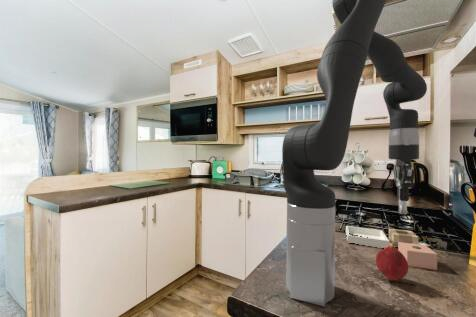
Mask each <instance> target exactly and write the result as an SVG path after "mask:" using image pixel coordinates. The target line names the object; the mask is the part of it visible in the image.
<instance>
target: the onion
mask: <svg viewBox="0 0 476 317" xmlns="http://www.w3.org/2000/svg"><path fill="white" fill-rule="evenodd" d="M375 264H376V267H377V268H378V271H379V272H380V273H381V274H382V276H384V277H385V278H386V279H388V280H389V281H391V282H394V281H397V280H401V279H404V277H406V275H407V274H408V272H409V266H408V263H407V260H406V258H405V257H404V255H403V254H402V253H401V252H400V251H398V248H395V247H394V245H393V244H392V243H390V244H389V246H388V247H387V248H384V249H382V248H381V249H380V250H379V251H378V252H377V254H376V257H375Z"/></svg>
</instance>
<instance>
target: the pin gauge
mask: <svg viewBox="0 0 476 317" xmlns="http://www.w3.org/2000/svg"><path fill="white" fill-rule="evenodd" d="M405 183H407V181H405ZM398 214H399V215H407V214H408V201H401V200H400V199H398Z"/></svg>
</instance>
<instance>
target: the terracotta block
mask: <svg viewBox="0 0 476 317" xmlns="http://www.w3.org/2000/svg"><path fill="white" fill-rule="evenodd" d="M397 250H398V251H400V252H401V253H402V254H403V255H404V257H405V258H406V260H407V263H408V267H414V268H421V269H427V270H434V271H438V253H436V252H435V251H434V250H432V248H429V247H428V246H427V245H426V244H421V243H418V244H412V243H403V242H398V248H397Z"/></svg>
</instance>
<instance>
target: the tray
mask: <svg viewBox="0 0 476 317" xmlns="http://www.w3.org/2000/svg"><path fill="white" fill-rule="evenodd" d="M349 233H350V234H353V235H358V236H352V235H350V234H349ZM346 235H347V237H346V242H347V241H348V243H355V244H359V245H358V246H362V245H365V246H364V247H368V246H371V248H375V247H377V249H382V248H387V247H388V246H389V244H390V241H389V237H387V235H386V233H385V232H384V231H383V230H382V229H375V228H366V227H359V226H350V225H345V236H346ZM360 236H362V237H360ZM367 237H368V238H367ZM348 243H347V244H348ZM355 244H354V245H355Z"/></svg>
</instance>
